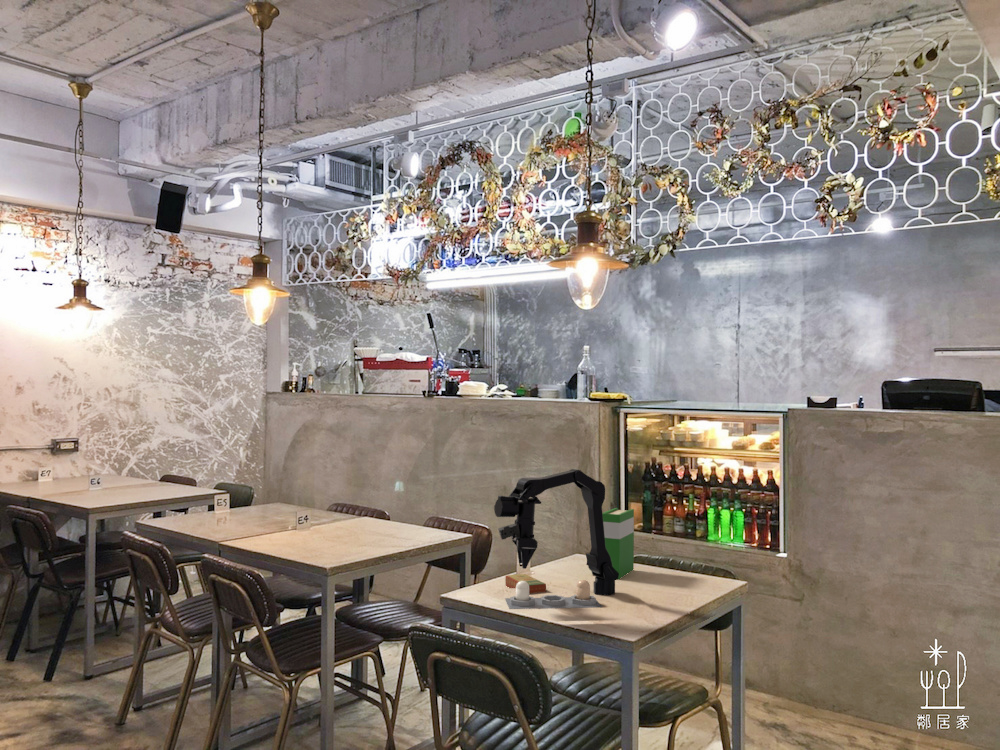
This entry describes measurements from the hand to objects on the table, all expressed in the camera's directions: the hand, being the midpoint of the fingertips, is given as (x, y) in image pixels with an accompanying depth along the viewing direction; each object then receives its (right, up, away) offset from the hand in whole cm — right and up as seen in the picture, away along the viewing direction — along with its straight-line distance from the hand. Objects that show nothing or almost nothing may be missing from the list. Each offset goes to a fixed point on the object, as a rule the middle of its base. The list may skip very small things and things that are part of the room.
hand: (522, 565), depth 253 cm
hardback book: (+38, -15, +48) cm, 63 cm away
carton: (+2, -14, +21) cm, 25 cm away
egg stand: (+10, -13, 0) cm, 16 cm away
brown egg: (+20, -12, +1) cm, 23 cm away
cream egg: (0, -12, -1) cm, 12 cm away
